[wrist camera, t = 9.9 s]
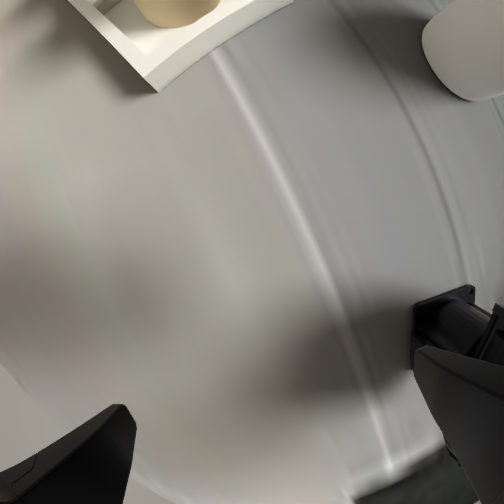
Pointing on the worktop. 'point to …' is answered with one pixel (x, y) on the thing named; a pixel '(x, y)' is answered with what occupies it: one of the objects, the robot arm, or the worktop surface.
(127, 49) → the white rectangular tray
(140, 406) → the worktop surface
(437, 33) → the pill bottle
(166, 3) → the beige tall cylinder
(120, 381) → the worktop surface
